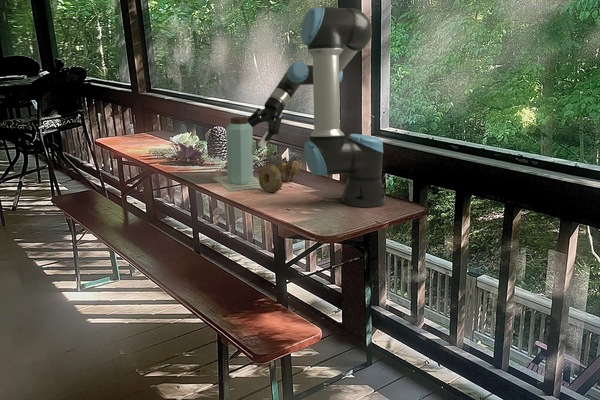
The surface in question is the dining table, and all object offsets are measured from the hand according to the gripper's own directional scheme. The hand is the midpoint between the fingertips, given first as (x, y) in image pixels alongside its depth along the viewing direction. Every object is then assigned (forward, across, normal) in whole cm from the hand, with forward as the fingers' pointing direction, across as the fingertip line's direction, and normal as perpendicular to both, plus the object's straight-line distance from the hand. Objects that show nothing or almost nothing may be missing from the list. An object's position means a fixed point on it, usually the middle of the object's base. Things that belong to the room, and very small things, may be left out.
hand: (248, 144), depth 224 cm
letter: (+14, 0, -7) cm, 15 cm away
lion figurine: (+3, -10, -18) cm, 21 cm away
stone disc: (+14, -18, -7) cm, 24 cm away
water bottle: (+14, 0, -7) cm, 15 cm away
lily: (+11, +41, -10) cm, 44 cm away
